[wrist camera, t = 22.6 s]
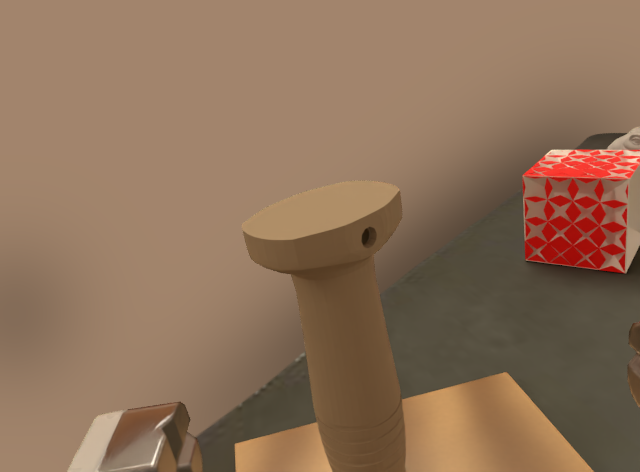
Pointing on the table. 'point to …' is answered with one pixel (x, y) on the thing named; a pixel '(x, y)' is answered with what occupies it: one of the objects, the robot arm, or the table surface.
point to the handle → (341, 314)
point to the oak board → (441, 436)
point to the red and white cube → (583, 209)
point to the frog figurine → (627, 141)
